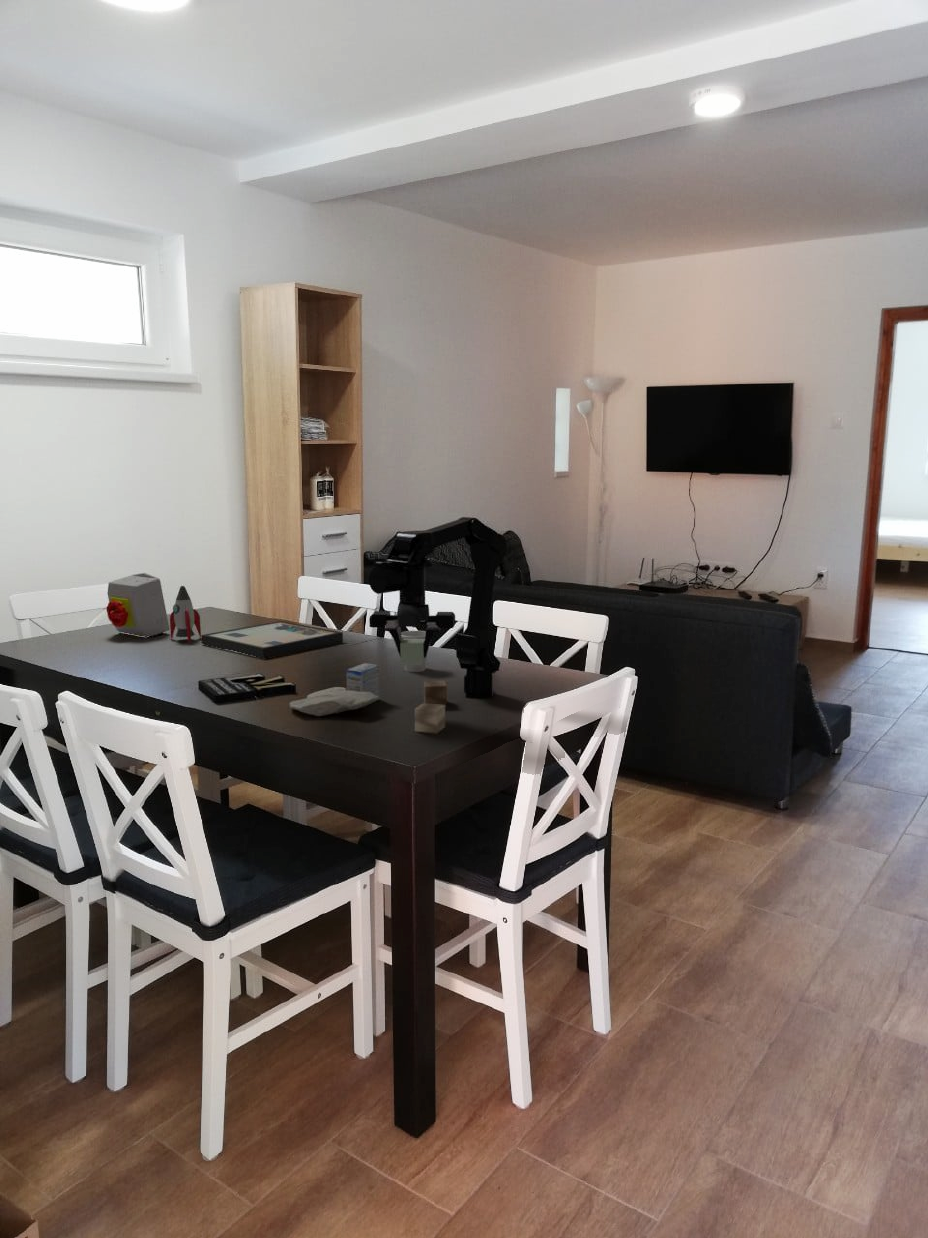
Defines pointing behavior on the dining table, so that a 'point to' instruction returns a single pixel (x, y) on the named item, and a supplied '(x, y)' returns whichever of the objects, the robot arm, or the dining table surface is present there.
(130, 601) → the electrical switch box
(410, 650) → the sage cube
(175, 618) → the toy
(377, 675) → the medicine box
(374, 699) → the rock
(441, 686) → the walnut cube
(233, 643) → the board game box
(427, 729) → the beech cube
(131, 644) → the dining table surface
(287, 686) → the decorative sign
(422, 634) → the dixie cup
